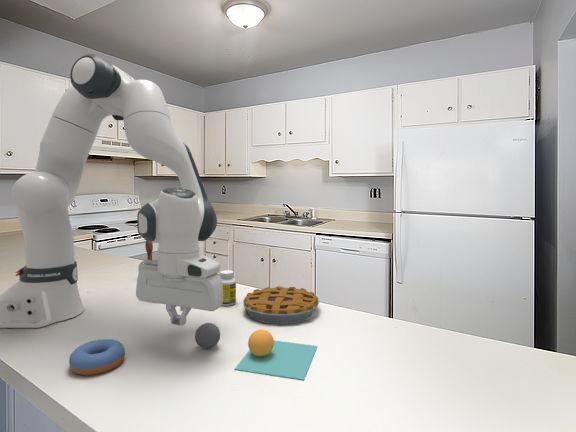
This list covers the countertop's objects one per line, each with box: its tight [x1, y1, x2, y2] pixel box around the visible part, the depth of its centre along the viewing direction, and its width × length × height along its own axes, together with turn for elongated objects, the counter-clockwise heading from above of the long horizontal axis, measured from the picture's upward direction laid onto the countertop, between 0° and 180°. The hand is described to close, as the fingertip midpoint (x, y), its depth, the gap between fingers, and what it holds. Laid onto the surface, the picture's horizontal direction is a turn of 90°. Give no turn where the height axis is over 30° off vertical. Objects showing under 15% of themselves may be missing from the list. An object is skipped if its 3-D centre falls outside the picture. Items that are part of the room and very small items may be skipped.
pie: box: [242, 286, 320, 324], centre depth 102 cm, size 22×22×5 cm
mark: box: [234, 340, 318, 381], centre depth 75 cm, size 14×14×1 cm
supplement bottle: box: [219, 269, 237, 307], centre depth 107 cm, size 5×5×10 cm
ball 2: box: [247, 328, 275, 357], centre depth 76 cm, size 6×6×6 cm
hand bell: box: [144, 240, 154, 260], centre depth 132 cm, size 8×8×16 cm
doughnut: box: [68, 338, 126, 376], centre depth 72 cm, size 10×10×5 cm
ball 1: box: [194, 322, 221, 350], centre depth 79 cm, size 6×6×6 cm
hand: (178, 324), depth 79 cm, fingers closed
